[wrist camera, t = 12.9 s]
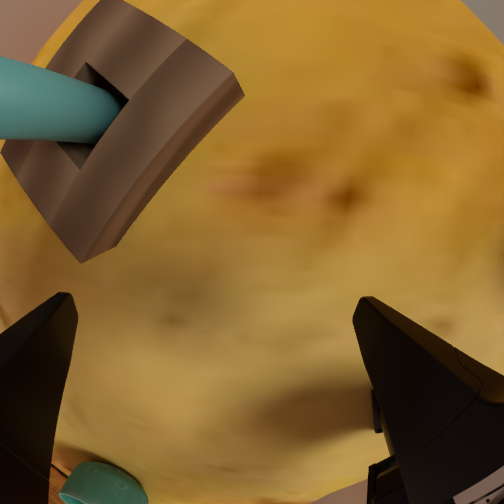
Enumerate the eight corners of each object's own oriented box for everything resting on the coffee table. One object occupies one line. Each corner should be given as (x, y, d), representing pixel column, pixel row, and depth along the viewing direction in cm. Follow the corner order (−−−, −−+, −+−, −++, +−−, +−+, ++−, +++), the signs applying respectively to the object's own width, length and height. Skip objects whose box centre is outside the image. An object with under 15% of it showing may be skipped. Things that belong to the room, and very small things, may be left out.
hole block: (245, 95, 16) (233, 72, 12) (116, 246, 20) (80, 263, 16) (135, 17, 15) (107, -8, 11) (37, 151, 19) (0, 152, 14)
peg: (132, 149, 18) (-49, 144, 5) (94, 142, 18) (-71, 140, 5) (145, 100, 17) (-20, 40, 4) (106, 97, 17) (-51, 57, 4)
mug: (96, 443, 28) (67, 490, 19) (169, 490, 30) (151, 538, 20) (70, 462, 33) (48, 496, 23) (127, 500, 34) (111, 535, 25)
